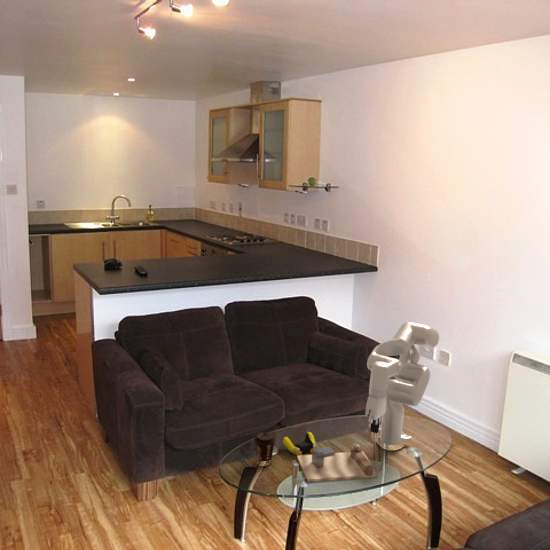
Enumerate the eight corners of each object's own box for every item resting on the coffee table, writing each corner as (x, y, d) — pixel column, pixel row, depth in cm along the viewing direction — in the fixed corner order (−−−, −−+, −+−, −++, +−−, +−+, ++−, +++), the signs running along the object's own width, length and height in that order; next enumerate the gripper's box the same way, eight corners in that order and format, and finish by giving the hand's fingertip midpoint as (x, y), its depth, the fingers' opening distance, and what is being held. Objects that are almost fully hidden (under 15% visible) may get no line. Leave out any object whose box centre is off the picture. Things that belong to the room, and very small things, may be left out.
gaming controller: (280, 447, 271) (291, 458, 263) (281, 436, 270) (292, 447, 261) (309, 440, 278) (321, 451, 269) (310, 430, 277) (321, 440, 268)
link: (348, 453, 265) (349, 447, 265) (358, 452, 267) (358, 446, 266) (365, 476, 249) (366, 470, 248) (375, 475, 250) (376, 468, 249)
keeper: (328, 458, 262) (329, 446, 260) (333, 464, 257) (334, 452, 256) (311, 462, 258) (312, 449, 257) (316, 468, 254) (317, 455, 252)
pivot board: (363, 453, 269) (364, 440, 267) (377, 476, 252) (378, 462, 250) (297, 458, 263) (297, 444, 261) (307, 482, 246) (308, 467, 244)
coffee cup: (262, 455, 264) (263, 428, 261) (277, 462, 259) (279, 434, 256) (249, 463, 257) (250, 436, 254) (265, 470, 253) (267, 442, 249)
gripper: (378, 383, 259) (375, 422, 263) (361, 394, 247) (357, 435, 252) (394, 388, 254) (390, 428, 259) (377, 399, 243) (373, 441, 247)
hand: (374, 431), depth 255 cm, fingers closed
